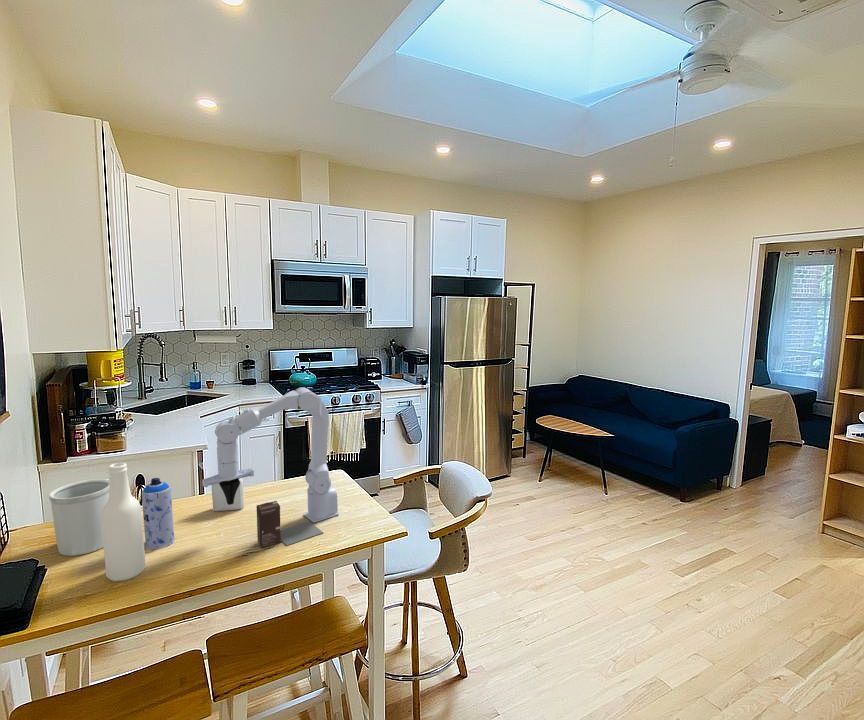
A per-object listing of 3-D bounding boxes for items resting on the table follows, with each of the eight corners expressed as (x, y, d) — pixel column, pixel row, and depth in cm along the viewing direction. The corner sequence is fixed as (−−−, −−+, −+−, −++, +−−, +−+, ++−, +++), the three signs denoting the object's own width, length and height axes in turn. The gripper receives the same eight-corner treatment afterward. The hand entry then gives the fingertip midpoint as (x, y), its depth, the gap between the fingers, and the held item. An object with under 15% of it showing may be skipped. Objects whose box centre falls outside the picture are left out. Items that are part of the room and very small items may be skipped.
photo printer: (211, 512, 160) (209, 477, 159) (214, 506, 164) (213, 473, 163) (242, 510, 162) (241, 476, 160) (245, 505, 166) (243, 471, 164)
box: (261, 549, 137) (259, 510, 135) (257, 542, 140) (255, 504, 139) (281, 543, 140) (280, 505, 138) (277, 537, 144) (276, 499, 142)
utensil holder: (43, 551, 135) (36, 493, 133) (96, 528, 149) (91, 475, 146) (76, 562, 130) (70, 502, 127) (128, 537, 143) (123, 482, 141)
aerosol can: (141, 542, 140) (136, 478, 137) (170, 533, 146) (165, 472, 143) (149, 552, 135) (144, 486, 132) (178, 542, 140) (174, 478, 138)
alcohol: (106, 570, 126) (96, 463, 122) (144, 560, 131) (136, 457, 127) (106, 586, 118) (96, 473, 115) (147, 575, 123) (138, 466, 120)
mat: (309, 521, 154) (309, 520, 154) (323, 533, 146) (323, 532, 146) (273, 533, 146) (273, 532, 146) (286, 546, 138) (286, 545, 138)
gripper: (247, 452, 149) (249, 493, 151) (198, 462, 140) (201, 505, 142) (255, 458, 144) (257, 500, 146) (205, 468, 135) (207, 513, 136)
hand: (230, 503), depth 143 cm, fingers closed
